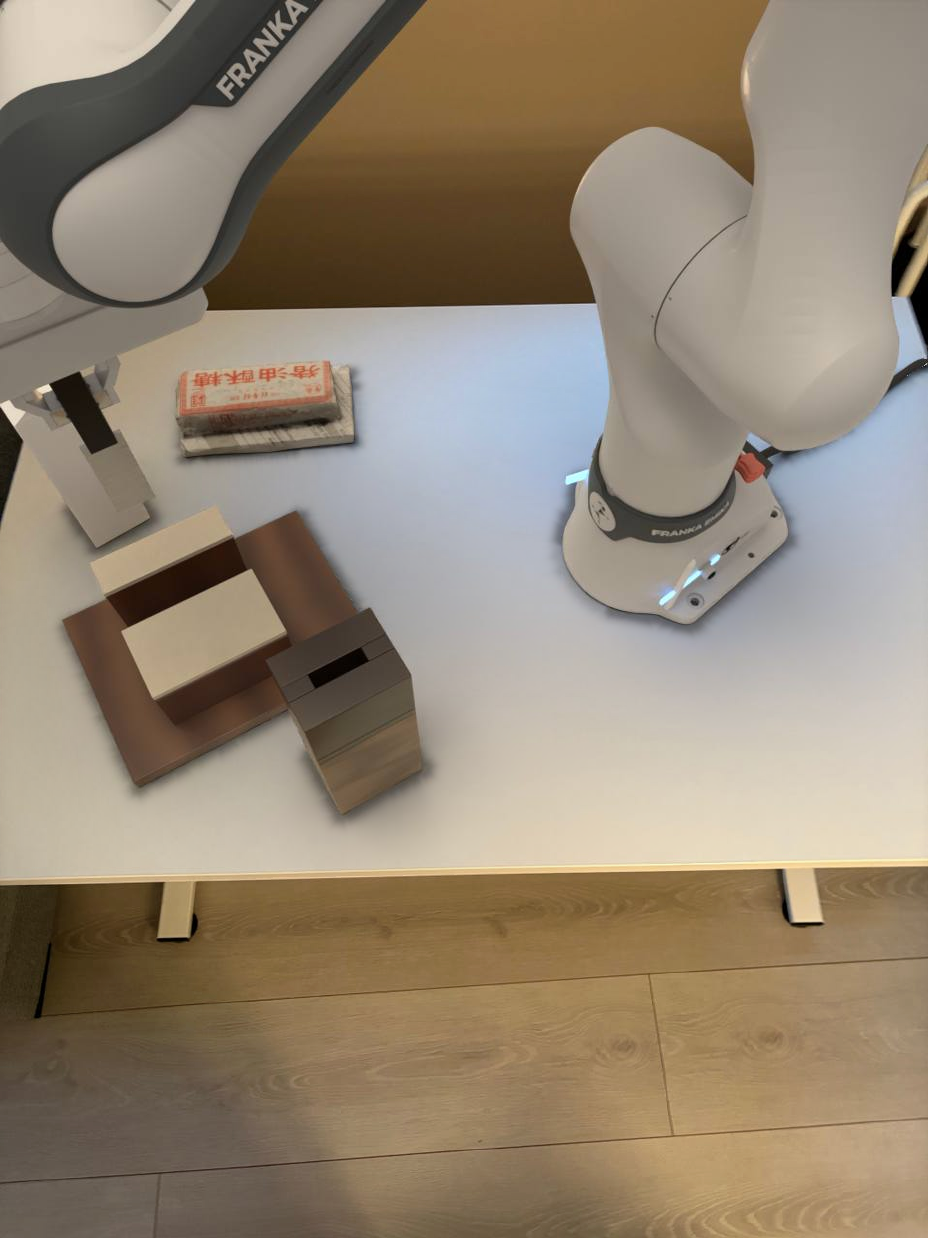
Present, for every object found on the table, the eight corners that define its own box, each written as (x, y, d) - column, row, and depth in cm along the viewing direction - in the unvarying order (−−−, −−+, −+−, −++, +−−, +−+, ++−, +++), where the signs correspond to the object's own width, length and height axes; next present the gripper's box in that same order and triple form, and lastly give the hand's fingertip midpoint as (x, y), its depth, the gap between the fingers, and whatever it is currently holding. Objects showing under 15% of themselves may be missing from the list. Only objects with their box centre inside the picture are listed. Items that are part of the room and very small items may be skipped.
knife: (150, 485, 72) (71, 339, 58) (159, 504, 71) (82, 360, 57) (113, 501, 71) (25, 358, 57) (123, 520, 71) (36, 379, 56)
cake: (265, 603, 86) (251, 568, 80) (298, 662, 83) (286, 630, 77) (144, 662, 83) (120, 631, 77) (174, 726, 80) (152, 698, 74)
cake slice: (231, 542, 89) (216, 504, 83) (247, 570, 87) (232, 534, 81) (113, 597, 86) (88, 562, 80) (128, 627, 84) (103, 594, 79)
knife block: (390, 713, 82) (370, 606, 64) (422, 769, 80) (412, 675, 61) (310, 757, 81) (265, 659, 62) (341, 815, 78) (304, 732, 60)
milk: (97, 549, 90) (-6, 402, 70) (69, 507, 92) (-39, 353, 72) (152, 517, 92) (67, 365, 72) (124, 477, 94) (33, 318, 74)
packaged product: (169, 431, 90) (171, 354, 95) (182, 461, 95) (184, 386, 99) (351, 414, 91) (345, 339, 96) (356, 444, 96) (350, 371, 100)
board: (298, 517, 92) (296, 509, 90) (383, 659, 85) (382, 653, 83) (67, 626, 86) (61, 619, 85) (138, 787, 79) (133, 782, 78)
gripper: (147, 142, 53) (207, 320, 65) (-221, 274, 48) (-80, 438, 60) (190, 208, 50) (244, 380, 62) (-193, 354, 45) (-52, 508, 58)
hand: (82, 410), depth 61 cm, fingers closed on knife, 2 cm apart
